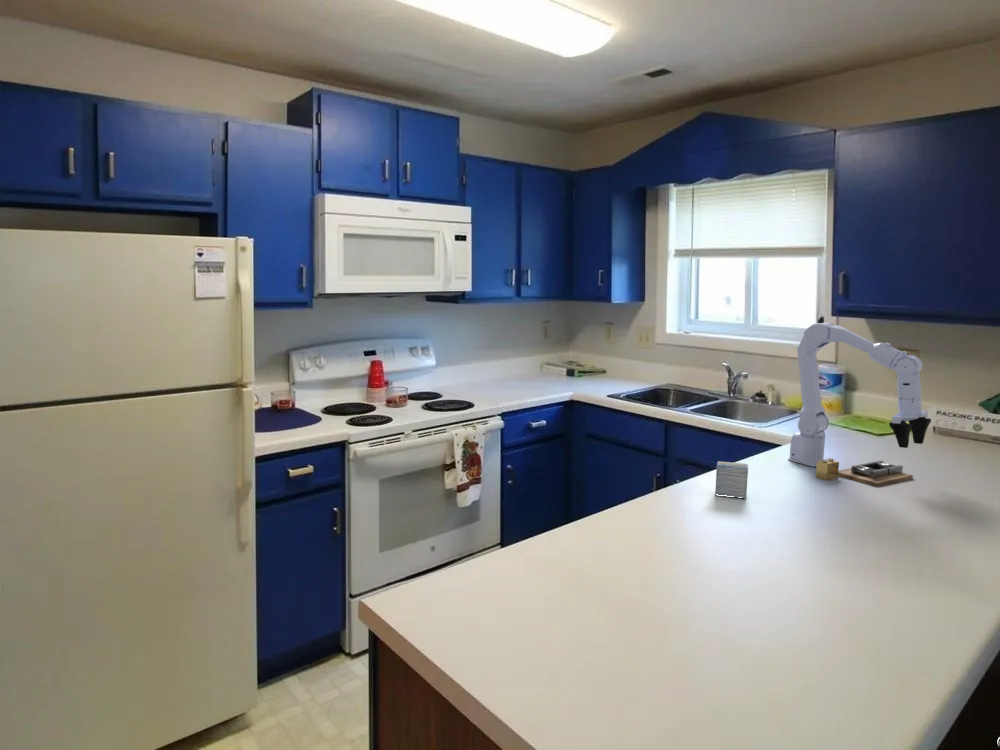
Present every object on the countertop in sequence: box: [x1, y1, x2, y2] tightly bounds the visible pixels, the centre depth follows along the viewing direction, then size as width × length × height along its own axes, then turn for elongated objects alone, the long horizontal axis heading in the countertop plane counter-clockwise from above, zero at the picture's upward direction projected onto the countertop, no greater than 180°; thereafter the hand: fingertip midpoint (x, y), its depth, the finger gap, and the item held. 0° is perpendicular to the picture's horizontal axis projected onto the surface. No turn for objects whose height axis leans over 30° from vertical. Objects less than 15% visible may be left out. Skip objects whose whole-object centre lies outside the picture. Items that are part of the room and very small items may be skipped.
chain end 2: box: [866, 460, 904, 475], centre depth 203 cm, size 7×7×2 cm
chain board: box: [838, 467, 914, 487], centre depth 201 cm, size 13×17×1 cm
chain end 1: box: [850, 463, 888, 479], centre depth 200 cm, size 7×7×2 cm
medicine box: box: [714, 460, 749, 499], centre depth 181 cm, size 8×4×9 cm, turn 71°
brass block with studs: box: [815, 457, 840, 481], centre depth 199 cm, size 4×5×6 cm
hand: (911, 445), depth 195 cm, fingers open, 7 cm apart
